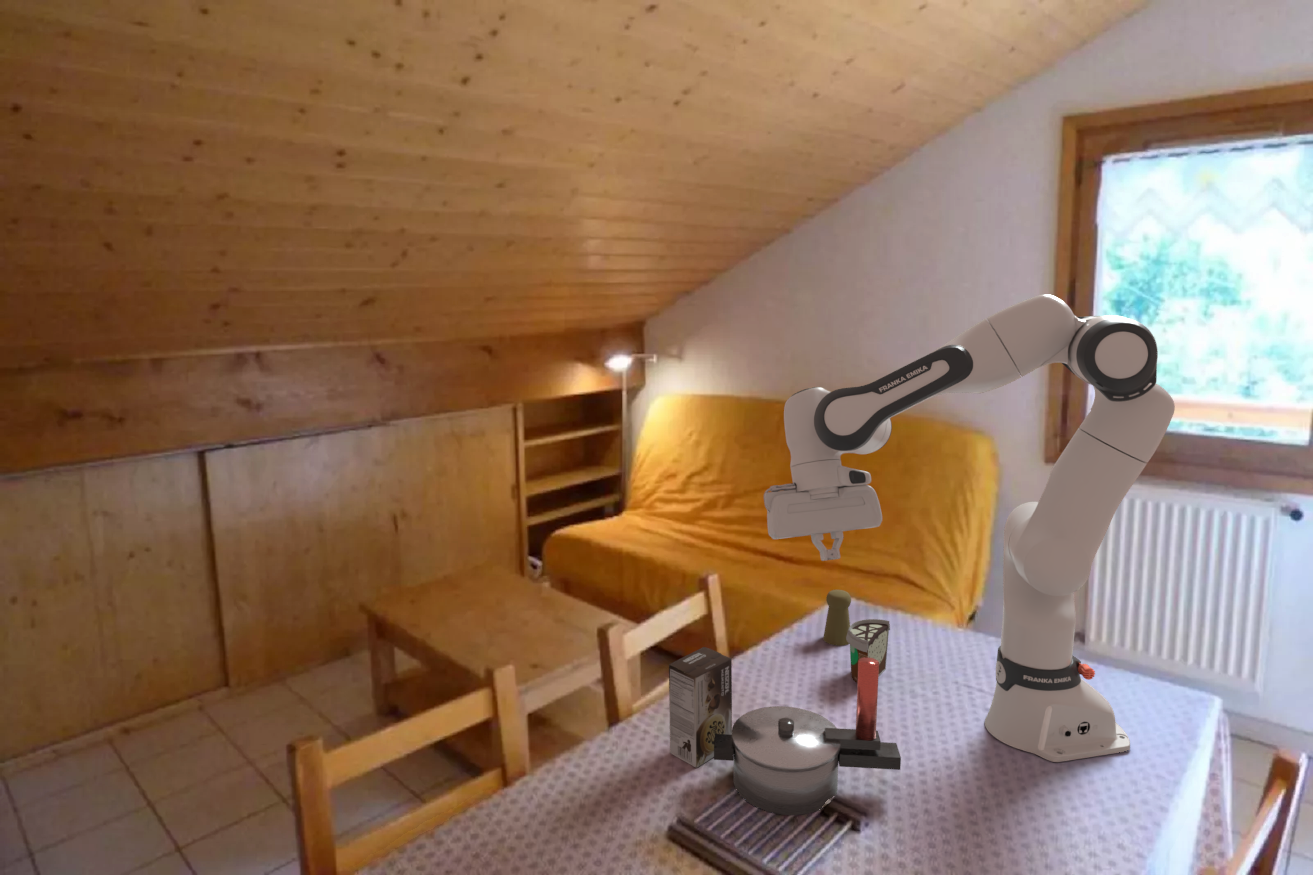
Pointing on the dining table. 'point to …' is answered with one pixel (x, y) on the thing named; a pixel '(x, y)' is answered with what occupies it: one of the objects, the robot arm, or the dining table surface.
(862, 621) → the food container
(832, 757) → the lid
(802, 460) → the robot arm
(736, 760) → the pot
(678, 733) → the coffee box
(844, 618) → the cork
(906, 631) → the dining table surface
